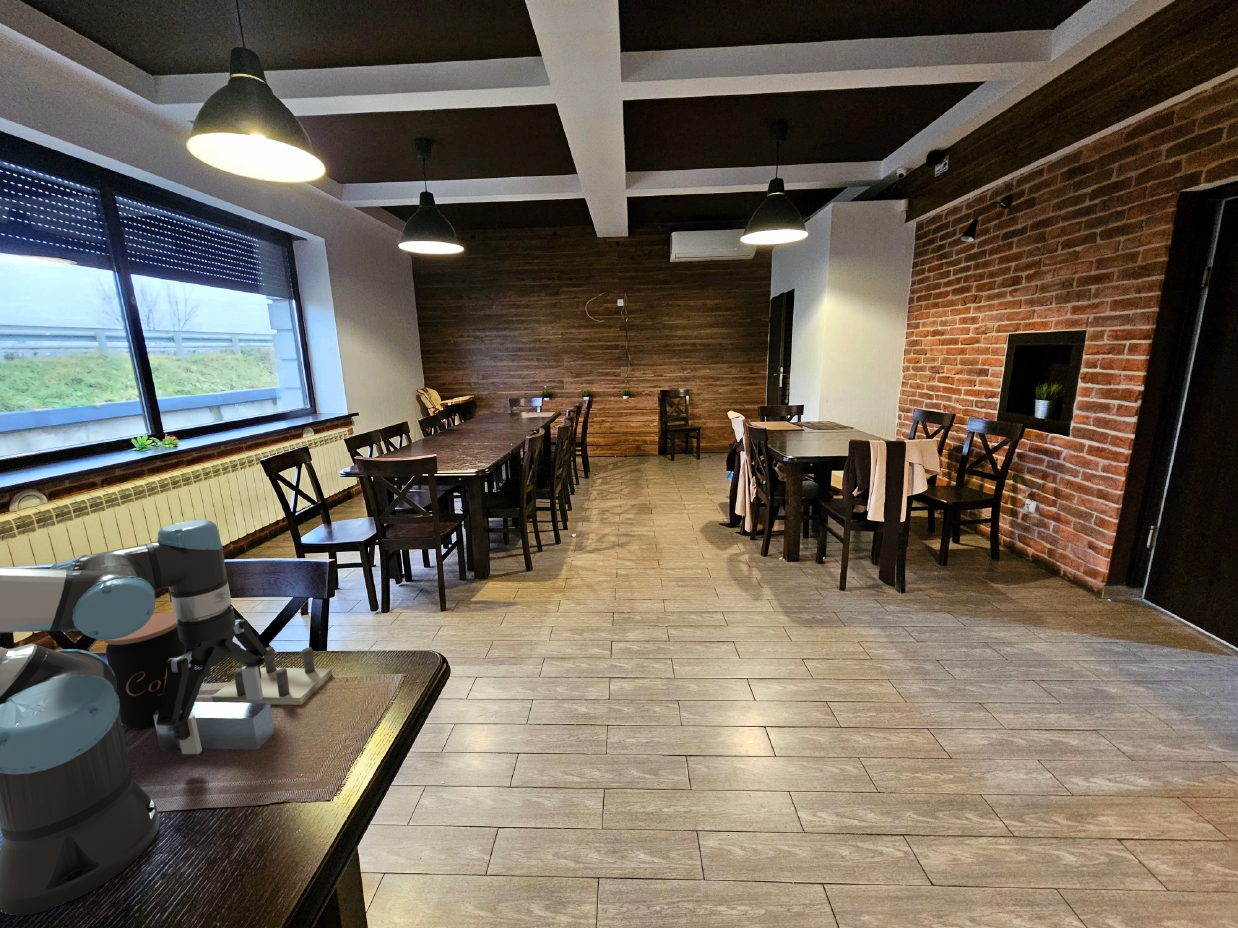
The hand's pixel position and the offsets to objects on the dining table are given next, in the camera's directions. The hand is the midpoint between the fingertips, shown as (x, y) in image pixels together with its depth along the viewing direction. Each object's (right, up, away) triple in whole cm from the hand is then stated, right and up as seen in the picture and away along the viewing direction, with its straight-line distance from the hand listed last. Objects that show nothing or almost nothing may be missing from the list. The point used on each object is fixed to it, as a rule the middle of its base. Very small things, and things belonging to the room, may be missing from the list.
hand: (226, 723), depth 89 cm
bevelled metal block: (-2, -3, 0) cm, 4 cm away
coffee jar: (-19, -2, +8) cm, 21 cm away
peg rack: (-2, -1, +15) cm, 15 cm away
